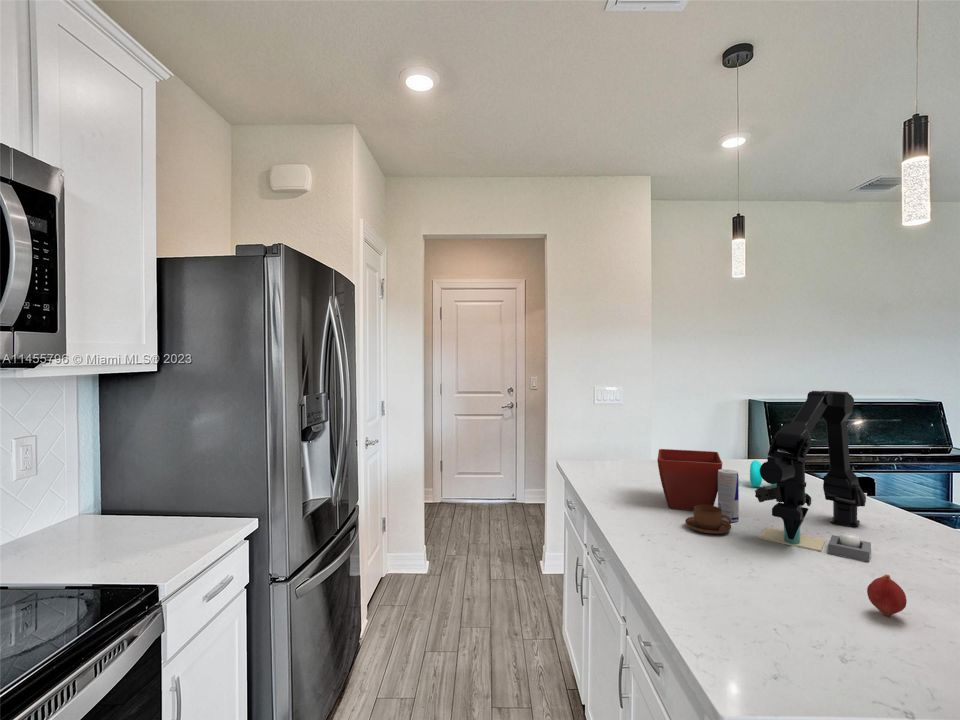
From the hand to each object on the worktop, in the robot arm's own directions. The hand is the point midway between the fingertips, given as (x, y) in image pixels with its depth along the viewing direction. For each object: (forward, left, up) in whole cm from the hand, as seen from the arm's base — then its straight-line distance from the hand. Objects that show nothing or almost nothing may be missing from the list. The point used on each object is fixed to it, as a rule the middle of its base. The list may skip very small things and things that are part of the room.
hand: (792, 536), depth 129 cm
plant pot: (-16, -32, -2) cm, 36 cm away
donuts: (-56, -17, -2) cm, 59 cm away
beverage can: (-9, -18, -2) cm, 20 cm away
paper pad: (-3, 0, -2) cm, 3 cm away
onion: (+30, +20, -2) cm, 36 cm away
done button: (-2, +12, 0) cm, 12 cm away
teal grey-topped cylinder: (0, 0, -1) cm, 1 cm away
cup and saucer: (+3, -20, -2) cm, 21 cm away
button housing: (-2, +12, -2) cm, 12 cm away
